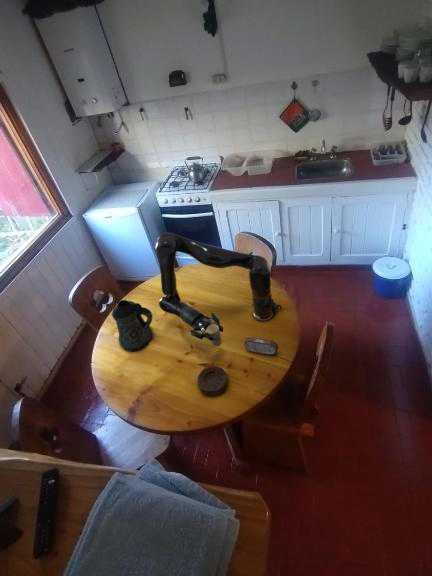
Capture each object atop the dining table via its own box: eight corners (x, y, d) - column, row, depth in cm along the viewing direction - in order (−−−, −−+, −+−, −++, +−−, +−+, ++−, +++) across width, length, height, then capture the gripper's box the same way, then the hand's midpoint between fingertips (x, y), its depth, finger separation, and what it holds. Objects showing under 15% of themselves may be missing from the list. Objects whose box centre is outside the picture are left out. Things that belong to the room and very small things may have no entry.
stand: (218, 367, 153) (217, 361, 150) (233, 386, 144) (231, 381, 141) (195, 380, 149) (193, 375, 147) (208, 401, 140) (206, 396, 138)
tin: (278, 351, 154) (278, 339, 149) (277, 357, 152) (276, 345, 146) (246, 346, 159) (244, 334, 154) (244, 351, 157) (242, 339, 152)
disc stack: (218, 335, 154) (215, 322, 148) (224, 343, 150) (221, 329, 145) (208, 341, 153) (204, 327, 147) (213, 349, 149) (210, 335, 143)
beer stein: (118, 334, 178) (100, 299, 163) (154, 320, 182) (140, 284, 167) (124, 357, 166) (106, 321, 150) (162, 341, 170) (148, 304, 154)
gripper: (177, 320, 150) (203, 339, 140) (201, 301, 157) (228, 318, 146) (181, 332, 155) (207, 351, 144) (204, 313, 162) (230, 330, 151)
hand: (217, 334), depth 145 cm, fingers closed on disc stack, 5 cm apart
